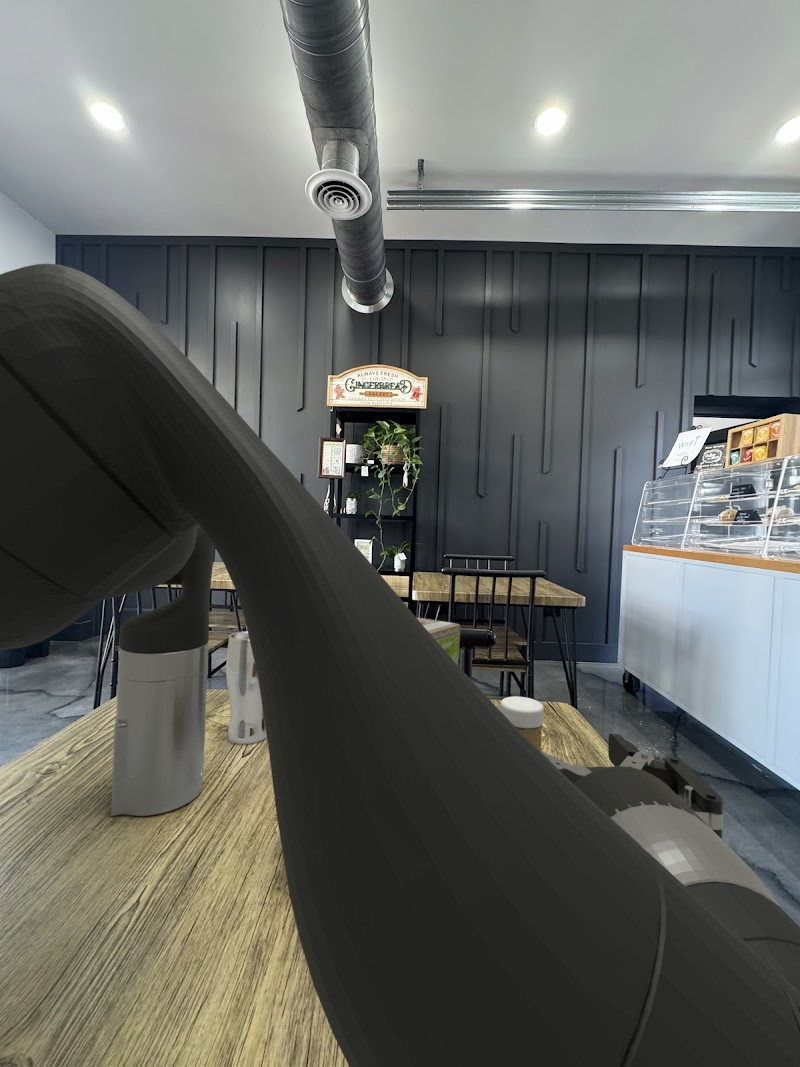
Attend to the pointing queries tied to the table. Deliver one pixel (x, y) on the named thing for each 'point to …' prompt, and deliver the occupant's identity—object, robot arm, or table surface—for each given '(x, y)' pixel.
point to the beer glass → (243, 692)
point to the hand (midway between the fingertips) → (560, 742)
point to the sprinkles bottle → (525, 717)
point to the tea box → (444, 635)
